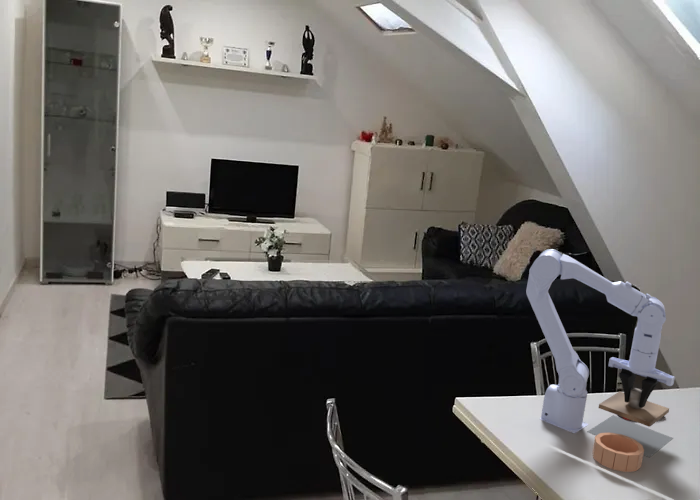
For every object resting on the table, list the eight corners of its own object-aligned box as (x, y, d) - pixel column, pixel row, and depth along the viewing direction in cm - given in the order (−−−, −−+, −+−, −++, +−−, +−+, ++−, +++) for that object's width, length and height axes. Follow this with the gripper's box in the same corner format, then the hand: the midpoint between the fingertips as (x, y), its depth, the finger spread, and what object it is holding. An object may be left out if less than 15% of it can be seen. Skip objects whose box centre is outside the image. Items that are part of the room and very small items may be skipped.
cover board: (598, 407, 159) (601, 388, 158) (618, 395, 168) (622, 376, 167) (649, 426, 151) (653, 406, 150) (668, 412, 160) (672, 392, 159)
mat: (586, 433, 162) (586, 431, 162) (612, 417, 173) (613, 415, 173) (649, 459, 152) (649, 457, 152) (672, 440, 163) (673, 438, 163)
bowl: (584, 459, 150) (587, 441, 149) (603, 446, 157) (607, 428, 156) (628, 479, 143) (632, 459, 142) (647, 464, 150) (650, 445, 149)
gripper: (683, 355, 154) (672, 410, 157) (620, 337, 164) (611, 389, 167) (672, 362, 149) (661, 418, 152) (608, 343, 159) (599, 396, 162)
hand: (634, 403), depth 159 cm, fingers closed on cover board, 3 cm apart
